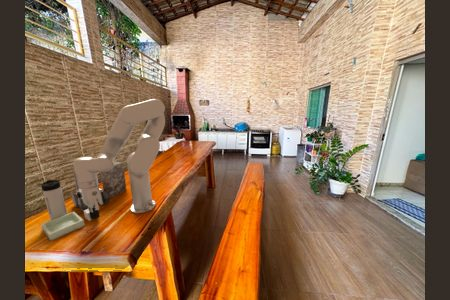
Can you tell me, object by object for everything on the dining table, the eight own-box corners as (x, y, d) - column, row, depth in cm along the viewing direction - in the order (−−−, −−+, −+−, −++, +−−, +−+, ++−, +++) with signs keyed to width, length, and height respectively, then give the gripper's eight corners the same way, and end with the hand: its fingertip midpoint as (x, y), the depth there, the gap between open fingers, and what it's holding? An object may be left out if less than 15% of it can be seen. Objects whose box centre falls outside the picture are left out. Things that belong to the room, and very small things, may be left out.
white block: (98, 216, 87) (97, 209, 86) (89, 220, 83) (87, 213, 82) (94, 213, 89) (92, 206, 88) (85, 217, 86) (83, 210, 85)
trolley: (110, 203, 98) (104, 171, 94) (85, 214, 89) (77, 178, 84) (97, 196, 107) (91, 166, 103) (73, 204, 98) (66, 172, 93)
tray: (84, 225, 80) (83, 219, 79) (50, 241, 70) (48, 234, 70) (75, 216, 87) (73, 211, 86) (42, 229, 77) (41, 224, 76)
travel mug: (66, 213, 90) (57, 178, 85) (69, 218, 85) (60, 181, 81) (49, 219, 85) (39, 182, 80) (51, 224, 81) (41, 185, 76)
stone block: (113, 198, 105) (107, 167, 100) (103, 197, 106) (97, 167, 101) (128, 189, 117) (124, 161, 113) (119, 188, 118) (114, 161, 114)
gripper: (104, 183, 78) (110, 218, 83) (91, 177, 86) (97, 209, 90) (85, 190, 72) (92, 227, 76) (72, 182, 80) (79, 216, 84)
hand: (95, 217), depth 83 cm, fingers closed
